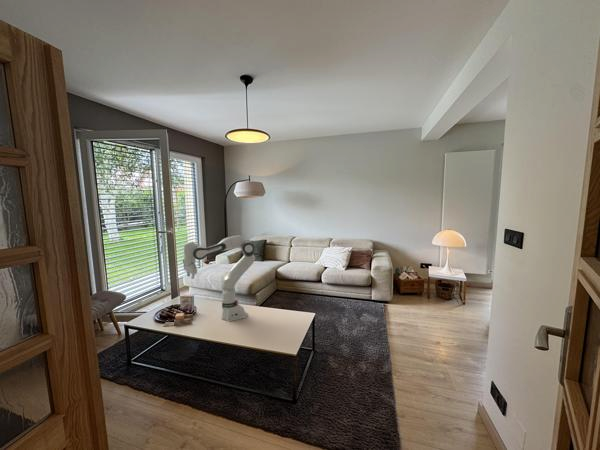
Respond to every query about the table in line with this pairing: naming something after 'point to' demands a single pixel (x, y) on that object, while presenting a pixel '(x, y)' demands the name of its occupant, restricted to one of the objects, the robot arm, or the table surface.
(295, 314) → the table surface
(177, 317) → the block
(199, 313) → the table surface
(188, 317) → the chute
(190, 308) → the candy bar box
